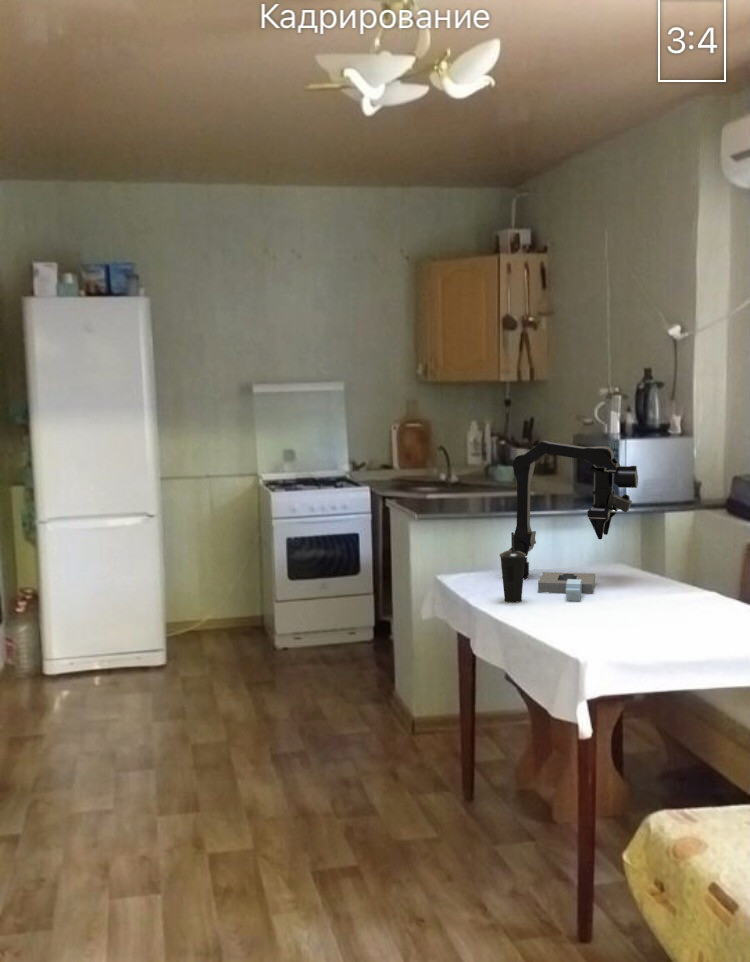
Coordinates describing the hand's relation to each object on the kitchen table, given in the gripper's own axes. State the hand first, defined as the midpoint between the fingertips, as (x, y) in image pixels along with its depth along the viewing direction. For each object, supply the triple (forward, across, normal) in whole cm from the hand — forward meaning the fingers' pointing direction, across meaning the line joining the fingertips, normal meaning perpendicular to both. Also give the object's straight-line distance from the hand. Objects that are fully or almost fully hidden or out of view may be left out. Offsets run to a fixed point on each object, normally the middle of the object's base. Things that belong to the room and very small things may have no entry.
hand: (603, 536), depth 325 cm
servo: (+14, -25, +4) cm, 29 cm away
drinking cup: (+14, -34, +20) cm, 42 cm away
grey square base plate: (+14, -12, +8) cm, 20 cm away
